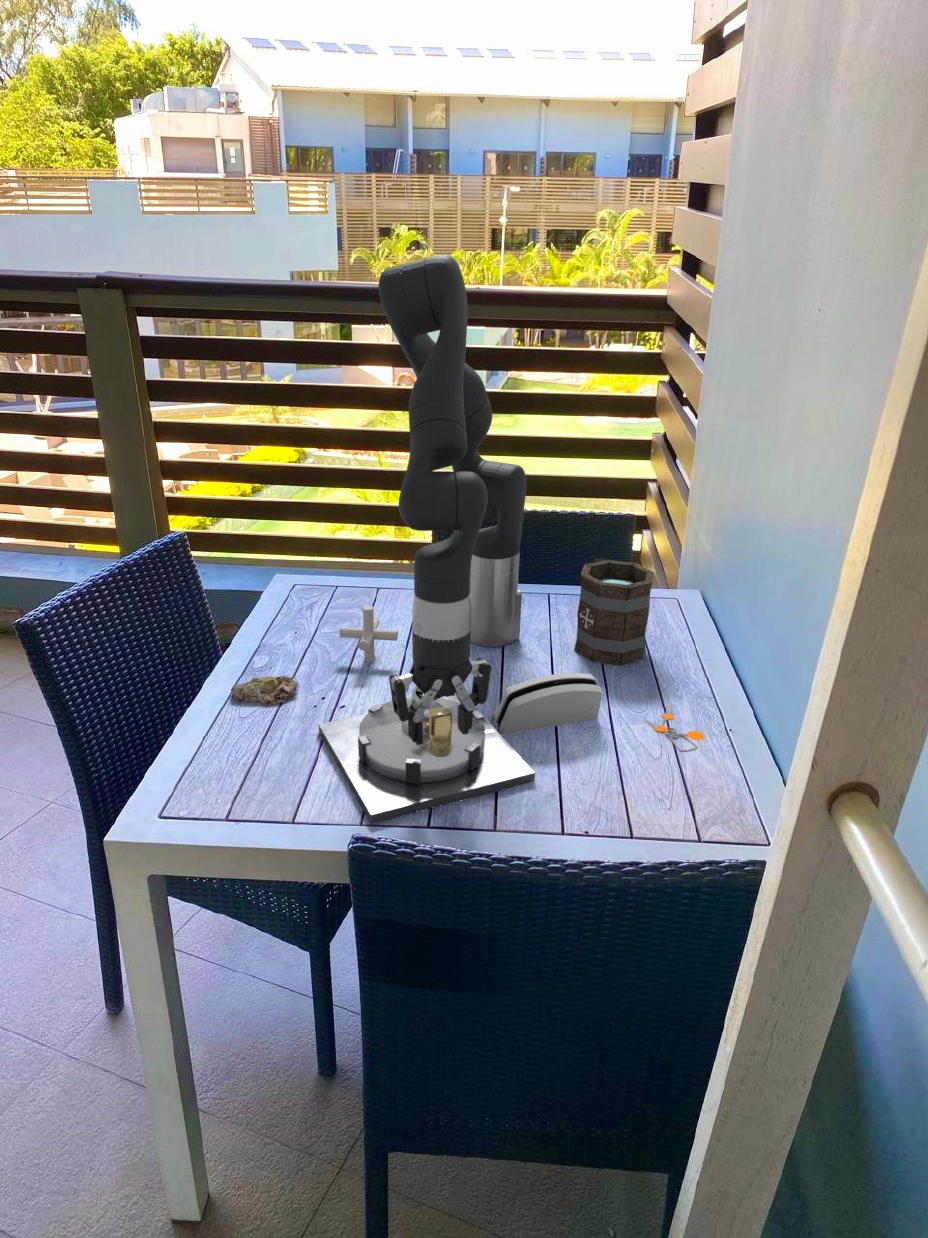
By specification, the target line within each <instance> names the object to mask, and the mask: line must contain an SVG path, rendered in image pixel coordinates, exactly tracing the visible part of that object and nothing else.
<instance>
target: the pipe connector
mask: <svg viewBox="0 0 928 1238" xmlns="http://www.w3.org/2000/svg"><path fill="white" fill-rule="evenodd" d="M362 621H363V623H362V624H363V625H362V626H363V627H347V626H346V627H345V626H341V627H340V629H339V637H340V638H346V639H360V640H359V642H358V645H357V647H358V649H359V650H360V651H363V655H364V661H365V662H373V661H375V659H376V658H375V654H376V653H375V640H376V641H377V640H379V641H392V642H394V641H395V642H397V641H398V640H399V639H398V637H399V631H398V630H395V629H394V630H392V629H380V628H378V627H379V625H380V619H379V618H378V617H376V616H374V606H372V605H364V606H363V607H362Z"/></svg>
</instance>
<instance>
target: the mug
mask: <svg viewBox="0 0 928 1238" xmlns="http://www.w3.org/2000/svg"><path fill="white" fill-rule="evenodd" d="M654 576H655V572H654V571H652V570H650V569H648V568H646V567H645V566H643V565H640V564H638V563H636V562H632V561H631V562H629V561H628V562H627V561H622V560H621V561H620V560H613V559H612V560H611V559H606V558H605V557H597V558H594V559H593V560H592V562H591V563H590V562H589V563H585V564H583V568H582V570H581V573H580V592H579V593H580V594H579V602H578V606H577V629H576V630H577V631H576V632H577V633H576V640H575V646H574V649H573V651H574V652H575V653H577V654H578V655H580V656H581V657H582V658H584V659H586V660H587V661H588V662H591V663H593V664H601V665H609V666H615V667H616V666H617V667H623V666H626V665H627V666H628V665H630V664H634V663H638V662H641V661H643V660H644V656H645V651H646V632H647V625H648V620H649V616H650V609H651V607H650V601H651V600H650V599H651V591H652V585H653V582H654V581H653V580H654Z"/></svg>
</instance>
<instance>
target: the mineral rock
mask: <svg viewBox="0 0 928 1238" xmlns="http://www.w3.org/2000/svg"><path fill="white" fill-rule="evenodd" d="M298 686H299V685H298V681H296V679H293V678H292V677H291V676H289V675H282V676H281V675H280V676H275V677H274V676H272V675H267V676H265V677H252V678H251V680H249V681H248V682H245V683H238V684H237V683H236V684H234V685H233V686H232V688H231V689H230V691H231V695H230V697H231V698H232V699H233V700H237V702H241V703H260V704H262V706H263V705H264V706H268V705H269V706H270V705H275V704H279V703H284V702H287V699H288V698H291V697H293V696H294V695H295V693H296V692H297V691H298V688H297V687H298Z"/></svg>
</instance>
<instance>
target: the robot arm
mask: <svg viewBox="0 0 928 1238" xmlns="http://www.w3.org/2000/svg"><path fill="white" fill-rule="evenodd" d="M378 295H379V299H380V300H379V301H380V303H381V307H382V310H383V312H384V314H385V317H386V319H387V322H388V324H389V326H390V328H391V330H392V332H393V334H394V336H395V338H396V340H397V342H398V344H399V346H400V347H401V349H402V351H403V354H404V355H405V356H406V359H407V360H408V362H409V364H410V366H411V368H412V370H413V373H414V375H415V376H416V380H415V381H414V383H413V384H414V385H413V387H412V389H411V392H410V396H409V400H408V423H409V440H410V442H409V443H410V444H409V458H408V464H407V467H406V471H405V474H404V478H403V480H402V485H401V488H400V491H399V492H400V493H399V497H398V511H399V515H400V518H401V520H402V521H403V523H404V524H405V525H406V526H407V528H409V529H411V530H412V531H417V532H418V531H419V532H426V531H427V532H430V531H431V532H432V531H433V532H435V531H453V533H452V534H451V535H450V536H449V537H448V538H446V539H444V540H442V541H438V542H434V543H431V544H427V545H424V546H421V547H420V548H419V549H418V550H417V551H416V552H415V554H414V562H413V576H414V577H413V581H414V582H413V586H414V587H413V591H414V592H413V601H412V610H411V613H412V614H411V616H412V617H411V618H412V621H411V622H412V623H411V624H412V626H411V627H412V628H411V629H412V635H411V637H412V639H411V640H412V641H411V642H412V644H411V645H412V647H411V648H412V653H411V654H412V655H411V656H412V657H411V658H412V666H411V668H410V670H409V672H408V673H405V674H402V675H399V676H398V674H396V673H393V674H390V676H389V678H388V681H389V687H390V694H391V701H392V702H393V709H394V712H395V713H396V714H397V715H398V717H399V719H400V720H401V721H403V722H404V721H407V720H408V735H409V737H410V738H411V740H412V741H413V742H415V743H416V745H421V744H423V721H422V720H421V719H422V717H423V715H424V713H425V711H426V709H428V708H429V707H430V705H431V703H432V701H433V700H434V699H439V698H444V697H450V696H454V695H456V696H457V698H458V700H459V701H460V703H461V704H460V705H458V729H459V730H460V732H461V733H462V734H463V735H464V734H468V733H469V729H471V728H472V721H473V720H472V719H473V709H474V707H475V708H476V706H478V705H485V704H486V702H487V700H488V693H489V687H490V680H491V674H492V669H493V668H492V665H491V664H490V663H489V662H487V660H486V659H484V658H483V657H482V656H480V657H477V658H476V660H470V658H471V643H472V644H474V645H478V646H481V647H490V648H496V647H504V646H507V645H509V644H511V643H513V642H514V641H515V640H520V635H521V619H522V618H521V617H522V616H521V615H522V599H523V593H522V591H521V590H520V589H519V588H518V587H519V571H520V570H519V569H520V551H521V550H520V549H521V548H520V547H521V540H522V534H523V525H524V512H525V504H526V495H527V475H526V472H525V469H524V467H522V466H521V465H520V464H519V465H518V464H514V463H507V462H500V461H494V460H493V461H492V460H486V459H484V458H482V457H481V455H480V452H479V450H478V449H479V448H480V445H482V443H483V441H484V440H485V438H486V436H487V434H488V433H489V430H490V427H491V425H492V422H493V410H492V406H491V401H490V398H489V396H488V392H487V390H486V387H485V383H484V381H483V379H482V378H481V376H480V375H479V374H478V373H477V371H475V370H474V368H473V367H471V366H470V365H469V364H467V363H466V352H467V337H468V336H467V334H468V333H467V332H468V331H467V330H468V315H469V314H468V313H469V312H468V311H469V310H468V308H469V307H468V296H467V295H468V294H467V291H466V284H465V279H464V277H463V273H462V271H461V267H460V265H459V264H458V262H457V260H456V259H455V258H454V257H453V256H451V255H450V254H436V255H432V256H428V257H424V258H420V259H417V260H412V261H408V262H405V263H399V264H396V265H393V266H391V267H389V268H386V269H385V270H383V271H382V272H381V274H380V276H379V279H378ZM437 331H439V333H438V337H437V339H436V342H435V341H434V340H433V339H432V338H431V336H430V335H429V333H433V332H437ZM449 467H451V468H452V471H438V470H441V469H444V468H449ZM485 515H489V516H496V517H498V518H497V519H498V520H497V524H496V525H494V526H489V527H484V528H481V526H482V523H483V521H484V518H485ZM470 674H472V675H473V678H472V685H471V692H470V693H469V692H468V690H467V687H465V684H464V683H465V682H466V680H467V679H468V677H469V676H470ZM412 683H413V684H414V685H415V687H414V689H413V691H412V693H411V697H412V699H411V701H410V703H409V706H408V707H407V700H406V698H407V693H408V692H409V689H410V685H411V684H412ZM424 694H425V695H424Z"/></svg>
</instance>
